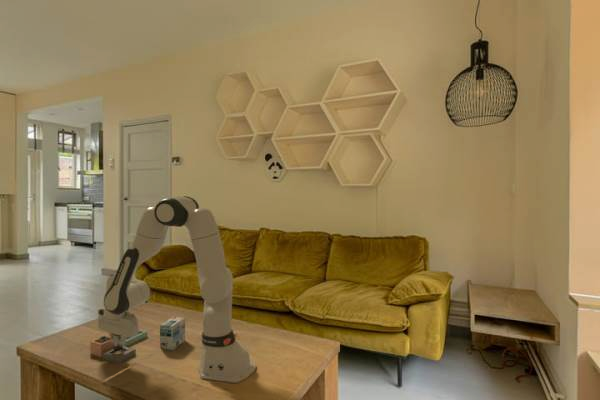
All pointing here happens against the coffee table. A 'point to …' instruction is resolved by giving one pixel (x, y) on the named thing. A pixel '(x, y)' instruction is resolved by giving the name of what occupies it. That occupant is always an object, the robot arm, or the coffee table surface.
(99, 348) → the open cubby frame
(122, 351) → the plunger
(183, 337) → the light bulb box
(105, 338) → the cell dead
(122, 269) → the robot arm
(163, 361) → the coffee table surface
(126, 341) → the trough
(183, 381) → the coffee table surface
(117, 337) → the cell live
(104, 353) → the gray square frame
